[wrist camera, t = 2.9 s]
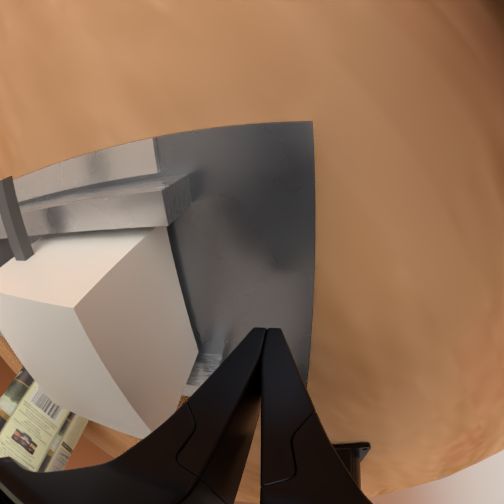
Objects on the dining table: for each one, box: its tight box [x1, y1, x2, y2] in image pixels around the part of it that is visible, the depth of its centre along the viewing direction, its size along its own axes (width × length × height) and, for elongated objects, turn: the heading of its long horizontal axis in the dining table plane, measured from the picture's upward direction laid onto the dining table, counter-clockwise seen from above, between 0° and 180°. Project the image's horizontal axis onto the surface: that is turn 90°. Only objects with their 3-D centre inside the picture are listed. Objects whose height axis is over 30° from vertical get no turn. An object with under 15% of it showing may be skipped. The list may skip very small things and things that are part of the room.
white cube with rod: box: [0, 176, 199, 439], centre depth 9 cm, size 9×15×5 cm, turn 95°
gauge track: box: [0, 121, 315, 396], centre depth 10 cm, size 12×28×7 cm, turn 95°
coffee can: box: [0, 366, 89, 472], centre depth 17 cm, size 10×10×14 cm
